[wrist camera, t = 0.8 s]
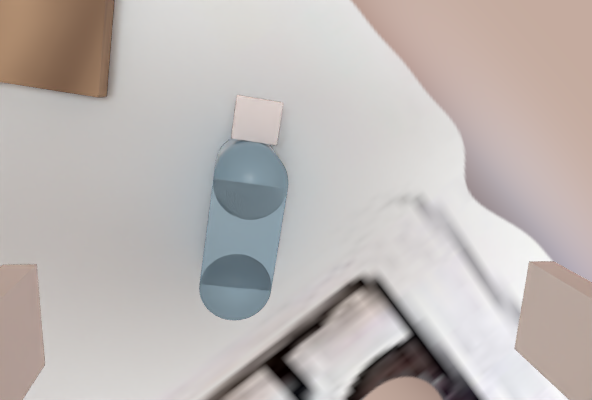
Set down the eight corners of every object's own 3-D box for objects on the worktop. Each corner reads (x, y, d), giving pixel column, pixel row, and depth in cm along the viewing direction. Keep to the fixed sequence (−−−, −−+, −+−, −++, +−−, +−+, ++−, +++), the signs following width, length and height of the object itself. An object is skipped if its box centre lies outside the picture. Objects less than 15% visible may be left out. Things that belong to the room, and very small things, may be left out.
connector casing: (201, 275, 33) (195, 317, 27) (225, 92, 30) (224, 94, 24) (259, 281, 34) (265, 323, 28) (287, 102, 31) (301, 107, 25)
